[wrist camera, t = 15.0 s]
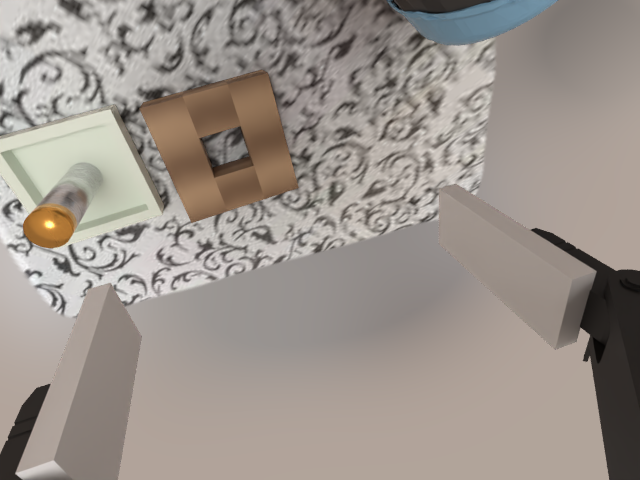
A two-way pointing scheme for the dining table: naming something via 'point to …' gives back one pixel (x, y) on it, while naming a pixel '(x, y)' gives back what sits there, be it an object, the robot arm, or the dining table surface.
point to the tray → (90, 147)
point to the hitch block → (212, 117)
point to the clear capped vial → (63, 206)
